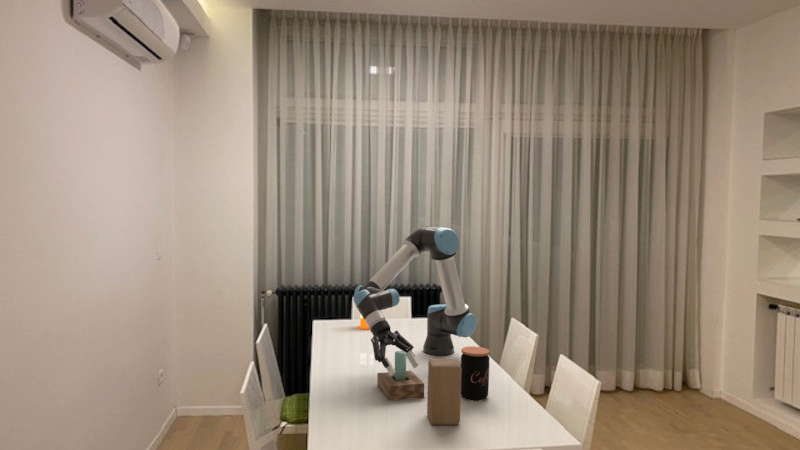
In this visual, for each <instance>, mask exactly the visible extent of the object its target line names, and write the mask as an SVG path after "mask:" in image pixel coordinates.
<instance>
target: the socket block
mask: <svg viewBox="0 0 800 450" xmlns="http://www.w3.org/2000/svg"><path fill="white" fill-rule="evenodd" d="M376 375H377V379H376V380H377V381H376V387H377V388H378V389H379V391H380V392H381V393H382V395H383V396H384V397H385V398H386V399H387V401H388V402H393V401H401V400H402V401H404V400H411V399H412V400H415V399H424V398H425V382H424V381H423V380H422V379H421V378H420V377H418V375H416V374H415V373H414V372H413V370H406V380H403V381H395V373H394V374H393V375H392V376H390V374H389V372H388V371H387V372H377V374H376Z"/></svg>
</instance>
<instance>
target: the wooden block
mask: <svg viewBox="0 0 800 450" xmlns="http://www.w3.org/2000/svg"><path fill="white" fill-rule="evenodd" d="M427 364H428V366H427V367H428V368H427V402H426V403H427V404H426V407H427V408H426V409H427V410H426V414H427V416H428V419H429V422H430V424H431V425H432V426H436V425H437V426H445V425H447V426H448V425H449V426H451V425H452V426H453V425H454V426H455V425H460V423H461V401H462V400H461V398H462V396H461V369H462V368H461V364H460V363H459V361H458V360H457V359H456V358H429V359H428V362H427Z"/></svg>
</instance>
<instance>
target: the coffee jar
mask: <svg viewBox="0 0 800 450" xmlns="http://www.w3.org/2000/svg"><path fill="white" fill-rule="evenodd" d="M460 350H461V353H462V354H461V356H460V366H461V368H462V369H461V398H463V399H464V398H465V399H464V400H467V401H471V400H473V401H474V402H480V401H479V400H482V401H484V399H485V400H486V399H487V397H488V396H489V382H490V380H489V379H490V356H489V355H490V350H489V349H488V348H485V347H482V346H464V347H462V348H461V349H460ZM473 401H472V402H473Z"/></svg>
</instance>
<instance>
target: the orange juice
mask: <svg viewBox="0 0 800 450" xmlns="http://www.w3.org/2000/svg"><path fill="white" fill-rule="evenodd" d="M359 325H360V327H359V328H360V329H361V330H363V329H368V330H369V329H370V328H369V327H368V325H367V323H366V322H365V320H364V318H363V317H362V315H361V314H360V323H359ZM370 330H371V329H370Z"/></svg>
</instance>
